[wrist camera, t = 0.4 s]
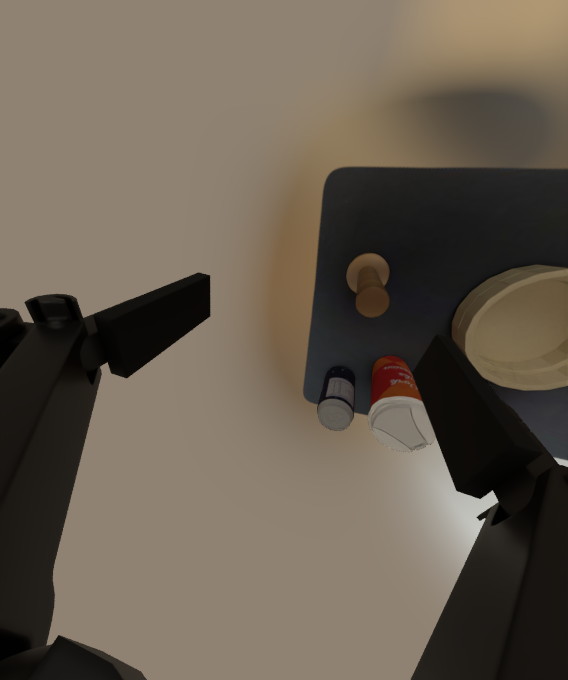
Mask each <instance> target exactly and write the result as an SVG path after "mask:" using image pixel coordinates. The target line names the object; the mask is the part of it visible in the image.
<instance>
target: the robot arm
mask: <svg viewBox="0 0 568 680" xmlns="http://www.w3.org/2000/svg"><path fill="white" fill-rule="evenodd" d="M25 304H26V307H27V309H28V311H29V313H30V315H31V317H32V319H33V321H34V323H28V322H23V320H22V318H21V316H20V314H19V312H18V311H16V310H14V309H7V308H0V680H147V679H146V678H145V677H144V676H143V674H142V672H141V671H139V670H137V669H135V668H133V667H131V666H129V665H127V664H125V663H123V662H121V661H119V660H118V659H116V658H114V657H112V656H110V655H108V654H106V653H104V652H103V651H100V650H98V649H95V648H92V647H89V646H87V645H84V644H81V643H79V642H76V641H73V640H71V639H68V638H65V637H62V636H60V635H58V637H57V638H56V640H55V641H54V643H53V644H52V645H47V646H46V644H47V639H48V635H49V631H50V626H51V622H52V616H53V610H54V597H55V594H54V586H53V568H54V563H55V559H56V555H57V551H58V547H59V542H60V539H61V535H62V531H63V527H64V523H65V519H66V515H67V511H68V507H69V503H70V499H71V495H72V491H73V487H74V483H75V479H76V475H77V471H78V467H79V463H80V459H81V455H82V451H83V447H84V443H85V439H86V435H87V430H88V427H89V423H90V418H91V415H92V411H93V407H94V403H95V399H96V395H97V390H98V386H99V383H100V378H101V374H102V373H101V369H100V366H102V365H103V364H105V363H107V362H108V365H109V368H110V371H111V373H112V374H115V375H118V376H121V377H124V378H128V377H129V376H131V375H132V374H133V373H135V372H136V371H137V370H139V369H140V368H141V367H143V366H144V365H145V364H147V363H148V362H150V361H151V360H152V359H153V358H155V357H156V356H157V355H159V354H160V353H161V352H163V351H164V350H166V349H167V348H168V347H170V346H171V345H172V344H174V343H175V342H176V341H178V340H179V339H180V338H182V337H183V336H184V335H186V334H187V333H188V332H190V331H191V330H192V329H194V328H195V327H196V326H198V325H199V324H200V323H202V322H203V321H204V320H206V319H207V318H208V317H210V275H206V274H202V273H196V274H194V275H191V276H189V277H187V278H184V279H181V280H179V281H176V282H174V283H171V284H169V285H166V286H164V287H161V288H159V289H156V290H154V291H151V292H149V293H146V294H144V295H141V296H139V297H136V298H134V299H130V300H128V301H125V302H123V303H120V304H118V305H115V306H113V307H111V308H108V309H105V310H103V311H100V312H97V313H95V314H93V315H90V316H87V317H85V318H83V316H82V314H81V311H80V308H79V305H78V302H77V299H76V298H75V297H73V296H70V295H65V294H50V295H43V296H37V297H34V298H31V299H29V300H27V301H26V302H25ZM412 376H413V378H414V381H415V383H416V386H417V389H418V391H419V394H420V397H421V399H422V402H423V404H424V407H425V410H426V412H427V415H428V417H429V420H430V423H431V425H432V428H433V431H434V433H435V436H436V438H437V441H438V443H439V446H440V449H441V451H442V454H443V457H444V459H445V462H446V464H447V467H448V470H449V472H450V475H451V478H452V480H453V483H454V485H455V488H456V490H457V491H458V492H461V493H464V494H467V495H470V496H473V497H476V498H479V499H481V498H482V497H484V496H485V495H487V494H488V493H489V492H491V491H492V490H493V491H494V493H495V495H496V497H497V499H498V501H499V502H498V503H497V504H495V505H494V506H492V507H491V508H489V509H488V510H486V511H485V512H483V513H481V514H480V515H479V516H478V517H477V518H478V519H479V520H482V519H484V518H486V520H485V522H484V524H483V526H482V528H481V530H480V532H479V535H478V537H477V539H476V541H475V543H474V545H473V547H472V550H471V552H470V554H469V556H468V558H467V560H466V562H465V565H464V567H463V569H462V571H461V573H460V575H459V578H458V580H457V582H456V584H455V586H454V588H453V590H452V592H451V595H450V597H449V599H448V601H447V603H446V605H445V607H444V610H443V612H442V614H441V616H440V618H439V620H438V622H437V624H436V627H435V629H434V631H433V633H432V635H431V637H430V639H429V642H428V644H427V646H426V648H425V650H424V652H423V655H422V657H421V659H420V661H419V663H418V665H417V667H416V670H415V672H414V674H413V676H412V678H411V680H568V467H566V466H563V465H559V464H558V463H557V462H556V460H555V459H554V458H553V457H552V456H551V454H550V453H549V452H548V451H547V450H546V448H545V447H544V446H543V445H542V443H541V442H540V441H539V440H538V439H537V437H536V436H535V435H534V434H533V433H532V432H530V429H529V428H528V427H527V425H526V424H525V423H523V422H522V419H521V418H520V417H519V416H518V414H517V413H516V412H515V411H514V410H513V409H512V408H511V407H510V406H508V405H507V404H506V403H505V402H504V401H502V400H501V399H500V398H499V397H498V396H497V394H496V393H495V392H494V391H493V389H492V388H491V387H490V386H489V384H488V383H487V382H486V381H485V379H484V378H483V377H482V376H481V374H480V373H479V372H478V371H477V370H476V368H475V367H474V366H473V365H472V363H471V362H470V361H469V360H468V358H467V357H466V356H465V355H464V353H463V352H462V351H461V350H460V348H459V347H458V346H457V345H456V343H455V342H454V341H453V340H452V338H448V337H444V336H440V335H437V334H436V336H435V337H434V339H433V341H432V342H431V344H430V345H429V347H428V349H427V350H426V352H425V353H424V355H423V357H422V358H421V360H420V361H419V363H418V364H417V366H416V368H415V369H414V371H413V372H412Z"/></svg>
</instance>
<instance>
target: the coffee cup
mask: <svg viewBox="0 0 568 680" xmlns="http://www.w3.org/2000/svg"><path fill="white" fill-rule="evenodd" d="M368 424H369V427H370V429H371V431H372V432H373V434H374V435H375V437H376V438H377V440H378V441H379V442H381V443H382V444H383V445H385V446H386V447H388V448H390V449H393V450H396V451H401V452H413V450H415V449H416V450H419V449H422V448H424V447H426V446H425V445H428V444H430V445H431V444H432V443H433V442H434V440H435V438H436V436H435V433H434V431H433V428H432V425H431V423H430V420H429V417H428V415H427V412H426V410H425V407H424V404H423V402H422V399H421V397H420V394H419V391H418V389H417V386H416V383H415V381H414V378H413V376H412V373H411V371H410V369H409V367H408V366H407V364H406V363H405V362H404V361H403V360H402V359H400V358H398V357H395V356H385V357H382V358H380V359H378V360H377V361H376V362H375V364H374V366H373V369H372V386H371V410H370V412H369V414H368Z"/></svg>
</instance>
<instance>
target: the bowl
mask: <svg viewBox="0 0 568 680" xmlns="http://www.w3.org/2000/svg"><path fill="white" fill-rule="evenodd" d="M452 339H453V341H454V342H455V343H456V345H457V346H458V347H459V348H460V350H461V351H462V352H463V353H464V355H465V356H466V357H467V358H468V360H469V361H470V362H471V363H472V365H473V366H474V367H475V368H476V370H477V371H478V372H479V373H480V374H481V376H482V377H483V378H485V379H487V380H489V381H491V382H493V383H495V384H498V385H500V386H503V387H508V388H513V389H518V390H550V389H555V388H559V387H564V386H568V267H560V266H548V265H532V266H526V267H520V268H514V269H511V270H508V271H506V272H503V273H501V274H499V275H496V276H494V277H491V278H489V279H488V280H486V281H485V282H483V283H482V284H481V285H479V286H478V287H476V288H475V289H474V290H472V291H471V292H470V293H469V294H468V296H467V297H466V298H465V299H464V300H463V302H462V303H461V304H460V305H459V307H458V308H457V311H456V313H455V316H454V318H453V321H452Z"/></svg>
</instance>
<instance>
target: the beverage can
mask: <svg viewBox="0 0 568 680" xmlns="http://www.w3.org/2000/svg"><path fill="white" fill-rule="evenodd" d="M354 399H355V376H354V374H353V373H352V372H351V371H350V370H349V369H347V368H344V367H334V368H331V369H330V370H329V371H328V372H327V374H326V377H325V380H324V384H323V388H322V392H321V395H320V399H319V403H318V407H317V413H318V417H319V421H320V422H321V424H322V425H323V426H325V427H326V428H328V429H330V430H334V431H341V430H344V429H346V428H347V427H348V426H349V425H350V423H351V422H352V419H353V417H354Z"/></svg>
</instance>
